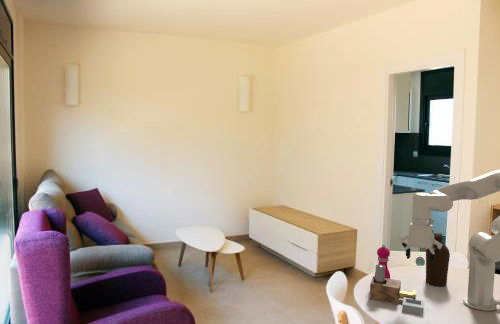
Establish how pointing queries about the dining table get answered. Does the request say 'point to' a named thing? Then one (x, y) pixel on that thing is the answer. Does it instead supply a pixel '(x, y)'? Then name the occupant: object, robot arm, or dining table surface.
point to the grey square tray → (413, 305)
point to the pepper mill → (384, 259)
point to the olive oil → (437, 264)
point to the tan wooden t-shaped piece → (407, 294)
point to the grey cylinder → (380, 274)
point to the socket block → (385, 290)
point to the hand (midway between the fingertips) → (420, 260)
